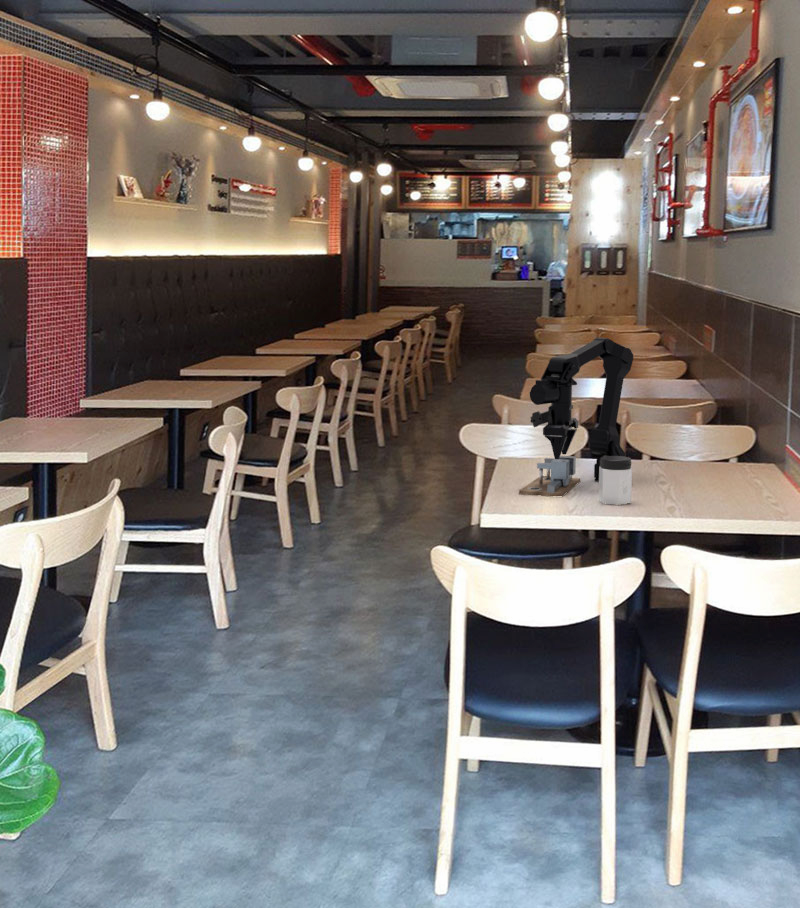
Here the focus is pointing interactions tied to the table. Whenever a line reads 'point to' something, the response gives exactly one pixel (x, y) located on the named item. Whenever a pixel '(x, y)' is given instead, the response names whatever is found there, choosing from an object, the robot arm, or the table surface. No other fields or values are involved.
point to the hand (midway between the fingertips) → (560, 456)
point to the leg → (555, 470)
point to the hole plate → (541, 489)
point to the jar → (615, 480)
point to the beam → (558, 483)
